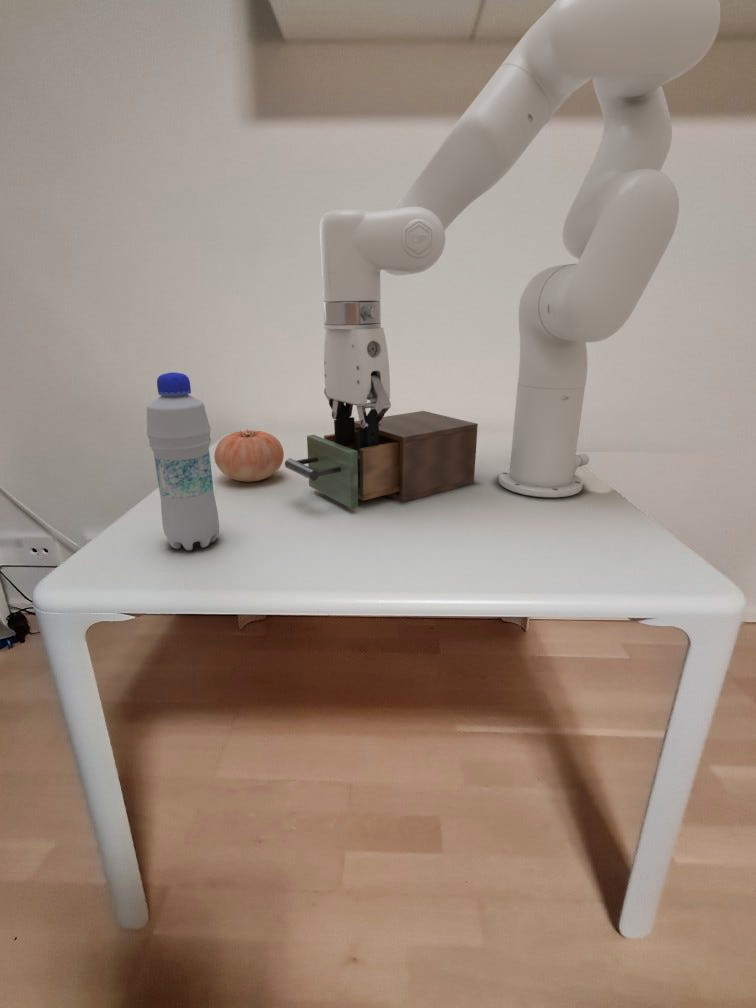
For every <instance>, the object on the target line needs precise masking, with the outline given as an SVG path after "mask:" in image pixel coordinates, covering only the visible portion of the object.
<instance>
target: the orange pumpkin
mask: <svg viewBox="0 0 756 1008" xmlns="http://www.w3.org/2000/svg"><path fill="white" fill-rule="evenodd" d="M214 450H215V451H214V455H213V456H214V458H213V459H214V462H215V464H216V466H217V468H218V470H219V471H220V472H221V473H222V474H223V475H225V476H226V477H228V478H229V479H232V480H234V481H239V482H245V483H254V482H259V481H263V480H265V479H269V478H270V477H272V476H273V475H274V474H276V473H277V472H278V471H279V470H280V468H281V467H282V464H283V462H284V457H285V456H284V455H285V452H284V448H283V445H282V444H281V442H280V440H279V439H278V438H277V437H276V436H275V435H273V434H270V433H268V432H266V431H262V430H248V429H246V430H242V431H241V429H240V430H239V431H235V432H231V433H229V434H227V435H225V436H224V437H222V438H221V439H220V440H219V441H218V443H217V445H216V447H215V449H214Z"/></svg>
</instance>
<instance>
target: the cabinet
mask: <svg viewBox="0 0 756 1008" xmlns="http://www.w3.org/2000/svg"><path fill="white" fill-rule="evenodd" d="M354 421H355V430H358V428H357V427H361V425H360V420H354ZM478 426H479V424H478V423H477V422H472V421H468V420H464V419H460V418H457V417H456V418H455V417H451V416H446V415H444V414H443V415H442V414H438V413H434V412H430V411H427V410H420V411H413V412H407V413H400V414H393V415H387V416H384V417H383V418H382V419H381V425H379V435H381V436H384V437H387V438H390V439H393V440H396V441H400V468H399V492H395V493H391V494H387V495H386V496H387V497H389V498H391V499H393V500H395V501H398V502H400V503H405V502H409V501H413V500H418V499H421V498H425V497H428V496H429V497H430V496H432V495H436V494H440V493H443V492H446V491H451V490H454V489H458V488H462V487H466V486H470V485H473V484H475V473H476V471H475V470H476V457H477V441H478Z"/></svg>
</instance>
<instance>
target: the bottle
mask: <svg viewBox="0 0 756 1008" xmlns="http://www.w3.org/2000/svg"><path fill="white" fill-rule="evenodd" d="M156 388H157V393H158V396H159V397H157V398H156V399H154V400H152V401H151V402H149V403H148V404H147V405H146V436H147V438H148V441H149V443H148V446H149V447H150V449H151V450H152V452H153V458H154V464H155V465H154V466H155V471H156V478H157V484H158V490H159V491H158V492H159V496H160V509H161V523H162V529H163V533H164V535H165V537H166V540H167V542H168V544H169V545H170V546H171V547H172V548H173V549H176V550H177V549H181V547H182V546H183V549H185V551H192V550H193V548H194V543H196V542H199V546H200V547H201V548H203V549H204V548H207V547H208V546H209V545H210V543H214V542H215V541H216V540H217V539H218V537H219V533H220V521H219V520H220V519H219V512H218V506H217V502H216V496H215V491H214V481H213V480H214V479H213V472H212V464H211V454H210V445H211V441H212V438H211V430H212V429H211V426H210V423H209V418H208V415H207V410H206V407H205V404H204V402H203V401H202V400H201V399H198V398H196V397H194V396H191V395H190V394H192V388H191V381H190V378H189V376H188V375H186V374H185V373H182V372H181V373H180V372H175V371H174V372H172V371H171V372H167V373H162V374H160V375H159V376H158V377H157V379H156Z"/></svg>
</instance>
